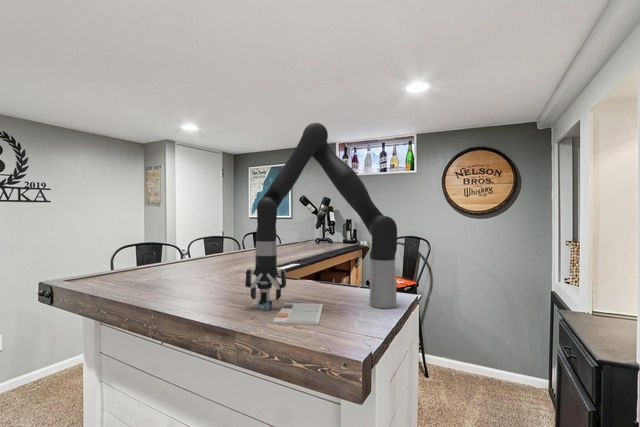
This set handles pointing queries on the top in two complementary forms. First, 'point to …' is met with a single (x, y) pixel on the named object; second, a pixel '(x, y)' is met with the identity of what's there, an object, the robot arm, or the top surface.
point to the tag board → (299, 314)
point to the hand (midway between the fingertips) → (265, 299)
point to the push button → (264, 295)
